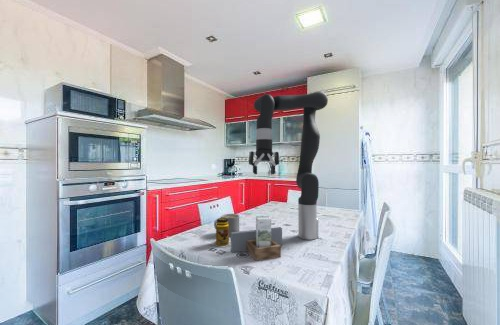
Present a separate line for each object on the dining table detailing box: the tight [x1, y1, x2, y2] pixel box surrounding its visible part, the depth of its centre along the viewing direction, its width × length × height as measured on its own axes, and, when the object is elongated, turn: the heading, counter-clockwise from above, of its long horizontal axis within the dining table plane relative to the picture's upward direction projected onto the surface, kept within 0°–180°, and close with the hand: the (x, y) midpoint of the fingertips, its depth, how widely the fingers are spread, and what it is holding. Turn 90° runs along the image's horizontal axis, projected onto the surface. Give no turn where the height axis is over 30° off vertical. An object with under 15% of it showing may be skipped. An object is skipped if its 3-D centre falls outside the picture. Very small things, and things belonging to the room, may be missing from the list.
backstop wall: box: [230, 226, 283, 253], centre depth 101 cm, size 24×2×8 cm, turn 110°
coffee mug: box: [213, 213, 240, 238], centre depth 121 cm, size 13×10×10 cm
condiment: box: [210, 217, 231, 248], centre depth 107 cm, size 7×8×12 cm
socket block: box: [246, 239, 282, 262], centre depth 95 cm, size 11×11×4 cm
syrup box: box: [255, 215, 272, 248], centre depth 95 cm, size 6×6×14 cm
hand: (264, 174), depth 104 cm, fingers open, 8 cm apart
